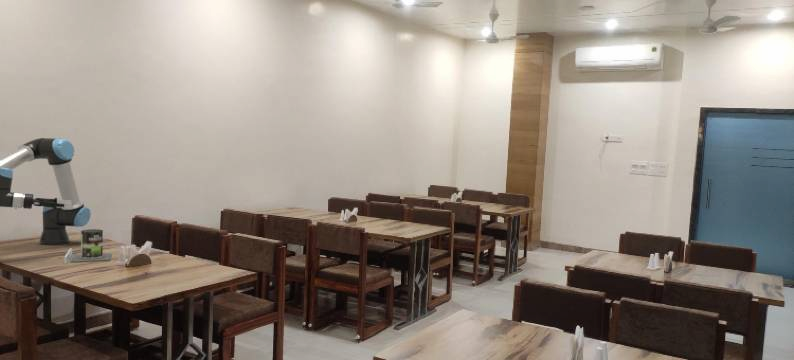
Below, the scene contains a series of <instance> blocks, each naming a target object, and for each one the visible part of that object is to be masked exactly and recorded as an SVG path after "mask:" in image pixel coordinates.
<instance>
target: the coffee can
mask: <svg viewBox="0 0 794 360" xmlns="http://www.w3.org/2000/svg"><path fill="white" fill-rule="evenodd" d="M103 232H104V230H103V229H95V228H94V229H92V228H91V229H83V230H81V231H80V236H81V237H80V254H81V258H83V259H96V258H101V257H103V252H104V251H103V242H104V241H103V236H104V235H103V234H104V233H103Z"/></svg>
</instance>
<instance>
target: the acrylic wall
mask: <svg viewBox="0 0 794 360" xmlns="http://www.w3.org/2000/svg"><path fill="white" fill-rule="evenodd" d="M72 256H73V248H72V247H70V248H69V249H68V251H67V252H66V254H65V255H64V257H63V264H64V265H66V264H67V263H68V262H69V260H70V259H71V257H72Z"/></svg>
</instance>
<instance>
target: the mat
mask: <svg viewBox="0 0 794 360" xmlns="http://www.w3.org/2000/svg"><path fill="white" fill-rule="evenodd" d="M112 255H113V252H110V253H109V252H107V253H103V257H101V258H96V259H83V258H81V253H79V254H74V255H73V257H72V259H71V260H70V263H90V262H91V263H96V262H110V261H111V258H112Z"/></svg>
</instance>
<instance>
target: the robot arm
mask: <svg viewBox="0 0 794 360" xmlns="http://www.w3.org/2000/svg"><path fill="white" fill-rule="evenodd" d="M74 153H75V147H74V145H73V143H72V142H71V141H70V140H68V139H65V138H46V137H41V138H36V139H35V138H34V139H32V140H30V141H27V142H26V143H24V144H22V145H20V146H18V148H17V149H16V150H14V151H13V152H11V153H8V154H7V155H6V156H5V155H4V156H3V157H1V158H0V207H1V208H14V209H15V210H17V208H18V209H22V208H23V209H29V210H31V209H33V205H34V206H35V207H42V232H41V235H40V238H39V245H46V246H47V245H48V246H53V245H62V244H63V245H65V244H68V243H70V237H69V235H68V232H67V230H66V227H75V228H79V227H80V228H81V227H85V226H86V225H88V223H89V222H90V219H91V215H92V213H91V210H90V208H89V207H87V206H85V204H84V201H82V200H80V197H79V194H78V190H77V187H76V182H75V178H74V174H73V170H72V166H71V162H72V159H73V157H74V156H75V154H74ZM45 159H46V160H47V163H48V165H49V166H51V167H52V169H53V173H54V176H55V180H56V183H57V187H58V191H59V193H60V197H61V199H58V198H57V197H54V198H46V197H45V198H44V197H43V198H42V197H36V198H34V194H33V193H24V192H11V190H12V184H13V179H14V176H13V174H14V170H15V169H16V168H17V167H19V166H21V165H22V164H24V163H27V162H32V161H34V160H45Z"/></svg>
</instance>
